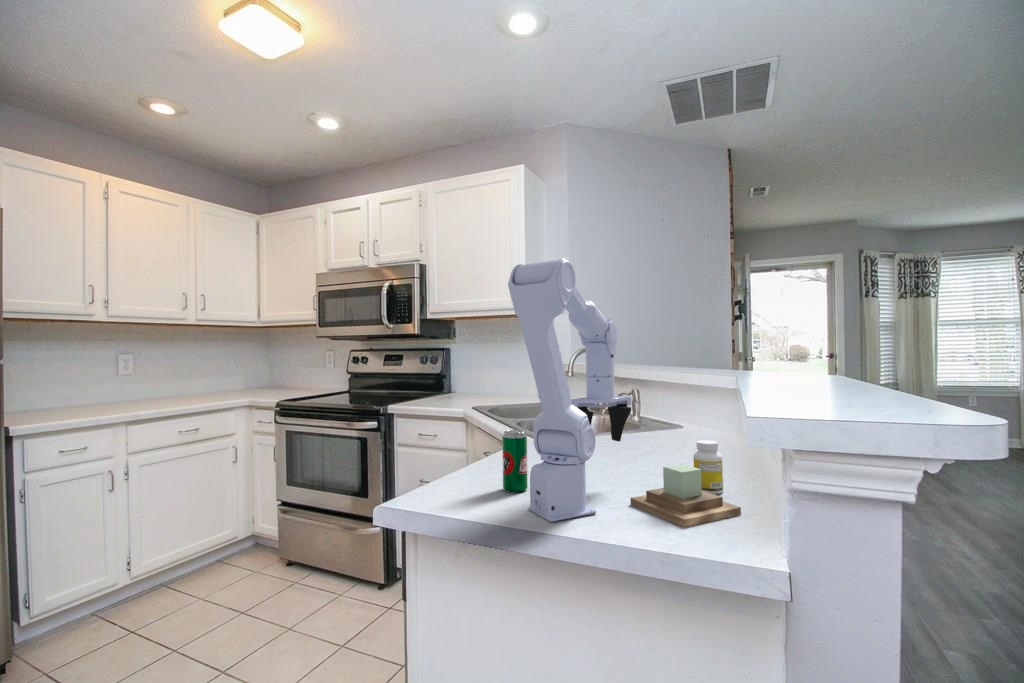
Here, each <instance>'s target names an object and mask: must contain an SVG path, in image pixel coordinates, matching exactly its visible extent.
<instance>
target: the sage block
mask: <svg viewBox="0 0 1024 683" xmlns="http://www.w3.org/2000/svg"><path fill="white" fill-rule="evenodd" d="M662 467H663V468H662V470H663V473H662V474H663V475H662V476H663V477H662V478H663V488H664V492H665V493H668V494H671V495H674V496H676V497H679V498H682V499H684V498H689V497H695V496H700V495H702V483H701V469H698V468H694V466H691V465H686V464H682V463H680V464H679V463H678V464H674V465H673V464H672V465H668V466H667V465H666V466H662Z"/></svg>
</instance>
